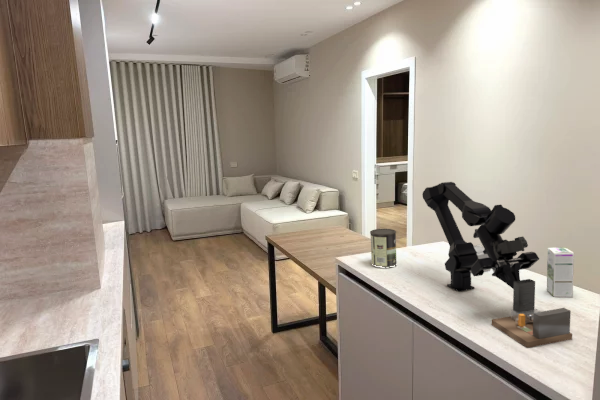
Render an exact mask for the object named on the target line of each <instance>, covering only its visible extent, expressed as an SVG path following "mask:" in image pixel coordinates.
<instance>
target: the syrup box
mask: <svg viewBox="0 0 600 400" xmlns="http://www.w3.org/2000/svg"><path fill="white" fill-rule="evenodd" d="M574 258H575V253H574V251H572V250H570V249H568V248H567V247H563V246H562V247H561V246H560V247H559V246H556V247H547V259H546V260H547V266H546V267H547V268H546V269H547V270H546V291H547V292H548V293H549V294H550V295H551V296H552V297H555V298H573V296H574V271H575V270H574V262H575V259H574Z"/></svg>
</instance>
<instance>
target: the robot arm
mask: <svg viewBox="0 0 600 400" xmlns="http://www.w3.org/2000/svg"><path fill="white" fill-rule="evenodd" d="M422 198H423V201H424V202H425V204H426V206H427V207H428V208H429V209H431V210H433V211H434V213H435V215H436V217H437V220H438V222H439V225H440V226H441V229H442V232H443V233H444V235H445V238H446V241H447V242H448V245H449V249H448V259H447V260H446V261H445V262H444V267H445V270H446V271H448V272H449V273H450V283H447V284H446V287H448V288H450V289H452V290H454V291H456V292H458V293H459V292H465V291H466V292H467V291H469V290H474V289H475V286H473V285H472V276H473V277H479V276H483V275H484V274H485V272H484V270H486V269H490V270H491V269H492V271H493V272H492V273H491V276H492V277H496V278H497V279H499V280H501V281H502V282H503V283H505V284H506V285H507V286H508V287H510V288H512V289H514V281H520V280H521V278H520V270H527V269H530V268H531V267H533V266H534V264H535V263H537V262H538V261H540V257H539V256H538V254H537V253H536V252H535V251H527V252H524V251H525V249H526V248H528V246H529V245H528V241H527V240H526V239H525V237H524V236H518V237H515V238H514V239H512V240H508V239H503V236H501V235H502V234H504V233H505V232H506V231H507V230H508V229H509V228H510V227H511V226H512V224H514V222H515V221H516V215H515V213H514V212H513V211H511V210H510V209H509V208H506V207H503V205H502V204H495V205H494V206H493V207H492V209H491V208H490V207H489V206H487V205H486V204H483V203H481V202H477V201H475V200H473V199H472V198H470V197H469V196H468V195H467V194H466V193H465V192H464V191H462V190H461V189H460V188H459V187H458V186H457V184H456V183H455V182H453V181H445V182H441V183H438V184H436V185H433V186H429V187H428V186H426V187H425V188H424V190H423V191H422ZM449 201H450V202H451V203H452V204H453V206H455V207H456V208H457V209H458V210H459V211H460V212H461V218H462V219H463V220H464V222H465V224H467V225H468V226H469V227H476V226H477V228H475V229H474V232H473V237H472V238H473V239H477V238H478V239H479V241H480V243H481V244H482V245H481V246H482V247H483V248H484V249H485V250H484V251H483V253H484V254H488V256H489V258H482V259H478V256H477V254H476V253H477V252H476V250H475V249H474V246H475V245H474V244H473V243H472V242H471V241H470V242H467V241H465V240H464V238H463V236H462V234H461V231H460V228H459V227H458V224H457V222H456V220H455V218H454V215H453V214H452V211H451V209H450V207H449V203H450V202H449ZM478 226H479V227H478ZM517 252H521V254H520V255H518V253H517ZM517 255H518V256H517ZM516 256H517V257H516ZM470 271H471V272H472V273H471V272H470Z"/></svg>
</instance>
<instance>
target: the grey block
mask: <svg viewBox="0 0 600 400" xmlns="http://www.w3.org/2000/svg"><path fill="white" fill-rule="evenodd" d="M473 246H474V249H475V250H476V252H477V253H476V254H477V256H478V259H482V258H489V256H488V254H484V253H483V251H484V250H485V249H484V247H483V245H481V244H476V245H473ZM490 271H491V269H486V270H484V273H485V272H490ZM470 272H471V271H470ZM471 274H472V272H471Z"/></svg>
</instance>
